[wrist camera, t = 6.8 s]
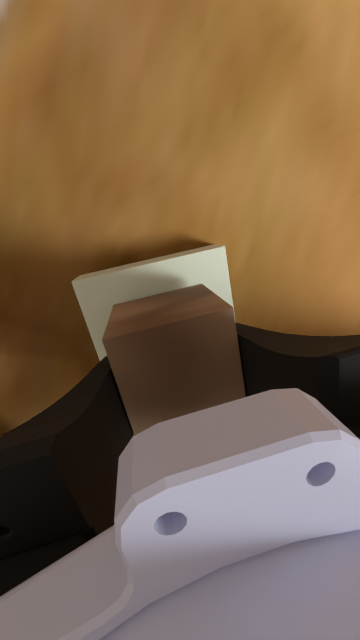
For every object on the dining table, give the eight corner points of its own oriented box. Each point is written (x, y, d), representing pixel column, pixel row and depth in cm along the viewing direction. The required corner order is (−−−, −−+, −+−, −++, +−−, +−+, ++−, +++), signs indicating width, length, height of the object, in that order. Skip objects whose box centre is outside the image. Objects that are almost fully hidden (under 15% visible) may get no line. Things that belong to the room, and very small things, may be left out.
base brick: (211, 244, 16) (224, 245, 13) (229, 357, 19) (242, 375, 16) (81, 274, 15) (71, 281, 13) (119, 386, 18) (117, 410, 16)
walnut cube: (201, 283, 13) (232, 307, 9) (215, 360, 14) (248, 412, 10) (113, 304, 13) (101, 340, 8) (137, 381, 14) (137, 444, 10)
